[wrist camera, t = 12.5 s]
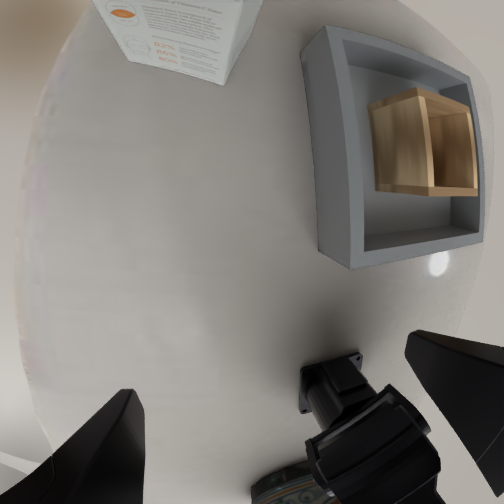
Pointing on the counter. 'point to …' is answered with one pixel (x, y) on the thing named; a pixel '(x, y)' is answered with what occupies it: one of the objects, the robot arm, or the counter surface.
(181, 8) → the small box
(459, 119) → the oak crate
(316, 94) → the slate gray crate
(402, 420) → the robot arm
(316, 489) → the beer stein
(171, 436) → the counter surface
